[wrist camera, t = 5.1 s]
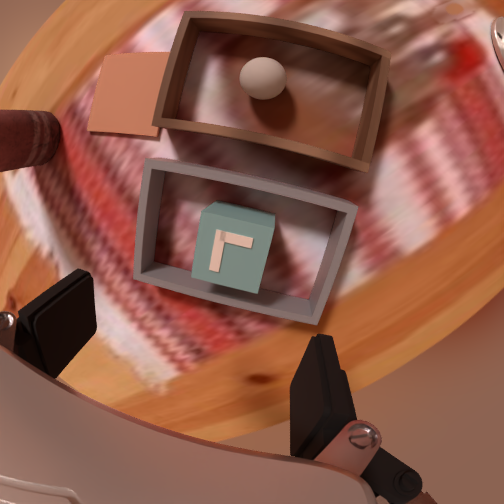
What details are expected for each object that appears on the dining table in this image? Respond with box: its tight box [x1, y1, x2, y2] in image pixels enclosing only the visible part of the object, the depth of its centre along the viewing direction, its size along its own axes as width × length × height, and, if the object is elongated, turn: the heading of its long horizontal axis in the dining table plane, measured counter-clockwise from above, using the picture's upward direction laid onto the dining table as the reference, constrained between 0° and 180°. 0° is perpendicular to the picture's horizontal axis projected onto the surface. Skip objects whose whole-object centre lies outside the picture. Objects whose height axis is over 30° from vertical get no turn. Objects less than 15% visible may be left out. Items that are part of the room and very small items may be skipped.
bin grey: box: [133, 158, 358, 325], centre depth 22 cm, size 16×10×3 cm, turn 77°
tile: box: [87, 52, 170, 137], centre depth 20 cm, size 8×8×1 cm
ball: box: [240, 57, 287, 100], centre depth 18 cm, size 4×4×4 cm
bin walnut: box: [151, 11, 391, 173], centre depth 18 cm, size 16×10×3 cm, turn 77°
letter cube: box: [191, 200, 275, 294], centre depth 21 cm, size 5×5×5 cm
